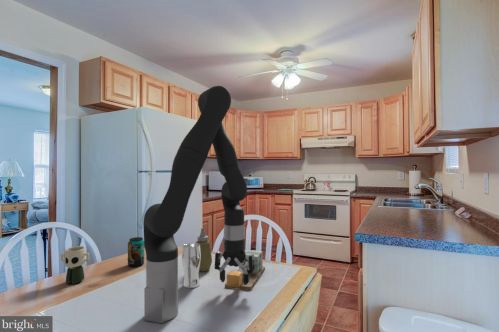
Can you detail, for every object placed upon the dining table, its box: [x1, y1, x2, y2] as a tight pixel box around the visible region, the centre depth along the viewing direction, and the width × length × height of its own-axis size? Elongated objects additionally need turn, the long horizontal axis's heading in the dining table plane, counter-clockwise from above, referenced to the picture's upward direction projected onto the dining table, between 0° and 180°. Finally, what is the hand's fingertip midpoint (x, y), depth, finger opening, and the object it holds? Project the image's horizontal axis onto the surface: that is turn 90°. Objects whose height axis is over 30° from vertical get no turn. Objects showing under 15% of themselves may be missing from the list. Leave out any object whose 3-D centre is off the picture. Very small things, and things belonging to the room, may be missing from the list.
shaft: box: [226, 260, 249, 287], centre depth 110 cm, size 22×4×4 cm, turn 163°
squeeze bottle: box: [195, 227, 213, 272], centre depth 124 cm, size 8×8×18 cm
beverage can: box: [127, 236, 145, 268], centre depth 130 cm, size 7×7×12 cm
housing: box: [224, 249, 266, 291], centre depth 115 cm, size 22×10×8 cm, turn 163°
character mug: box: [60, 245, 90, 285], centre depth 111 cm, size 11×7×13 cm, turn 91°
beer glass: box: [181, 242, 201, 289], centre depth 108 cm, size 7×7×15 cm
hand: (234, 282), depth 101 cm, fingers open, 8 cm apart
